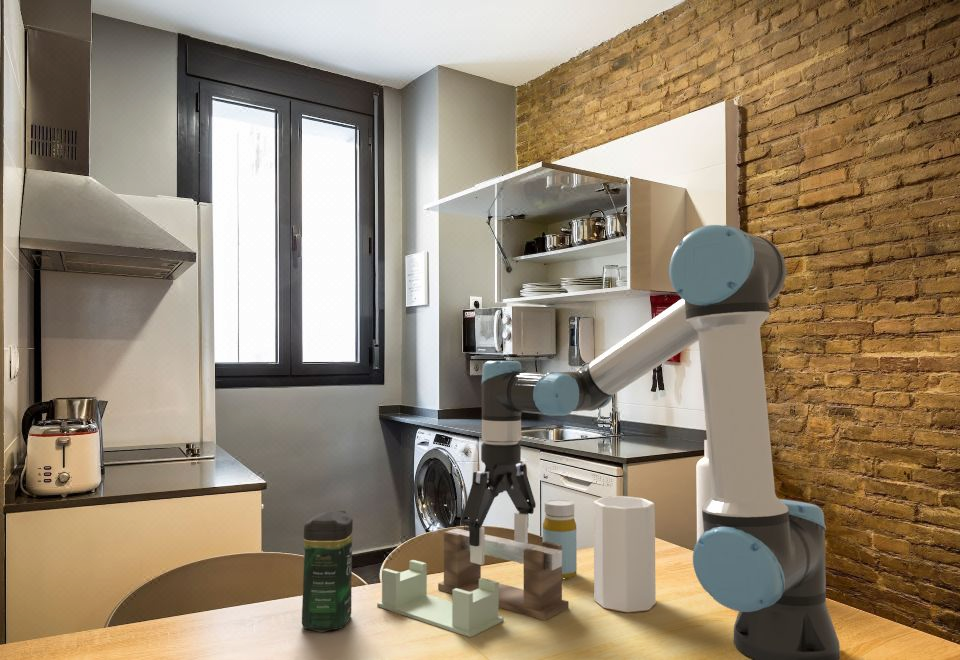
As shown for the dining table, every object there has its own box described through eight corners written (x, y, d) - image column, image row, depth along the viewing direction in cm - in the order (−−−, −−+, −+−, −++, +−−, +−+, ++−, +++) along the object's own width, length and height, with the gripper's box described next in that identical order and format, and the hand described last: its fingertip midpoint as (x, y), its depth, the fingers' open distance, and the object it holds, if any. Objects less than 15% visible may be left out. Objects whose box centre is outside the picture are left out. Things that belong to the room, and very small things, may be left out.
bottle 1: (536, 572, 145) (536, 500, 146) (565, 568, 148) (564, 497, 149) (553, 582, 139) (553, 507, 140) (583, 577, 142) (582, 504, 143)
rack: (568, 608, 125) (568, 545, 125) (545, 620, 119) (545, 554, 119) (463, 579, 140) (463, 524, 141) (438, 589, 134) (438, 531, 135)
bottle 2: (697, 580, 140) (696, 442, 141) (697, 568, 148) (695, 438, 149) (739, 584, 138) (738, 443, 139) (737, 572, 146) (735, 439, 147)
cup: (627, 618, 120) (626, 511, 121) (581, 599, 129) (581, 500, 130) (668, 604, 126) (667, 503, 127) (622, 588, 135) (621, 493, 136)
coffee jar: (344, 634, 113) (345, 519, 114) (296, 633, 113) (298, 519, 114) (356, 612, 123) (357, 506, 123) (312, 611, 123) (313, 506, 123)
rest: (503, 620, 118) (503, 582, 119) (470, 637, 111) (470, 596, 112) (412, 593, 132) (412, 558, 133) (377, 606, 125) (377, 569, 126)
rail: (561, 566, 123) (561, 550, 123) (552, 570, 121) (552, 554, 121) (456, 542, 139) (456, 528, 139) (445, 545, 136) (445, 531, 136)
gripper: (522, 434, 143) (522, 537, 142) (442, 446, 123) (440, 566, 123) (553, 437, 138) (552, 544, 137) (474, 450, 119) (473, 575, 118)
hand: (499, 554), depth 130 cm, fingers open, 13 cm apart
